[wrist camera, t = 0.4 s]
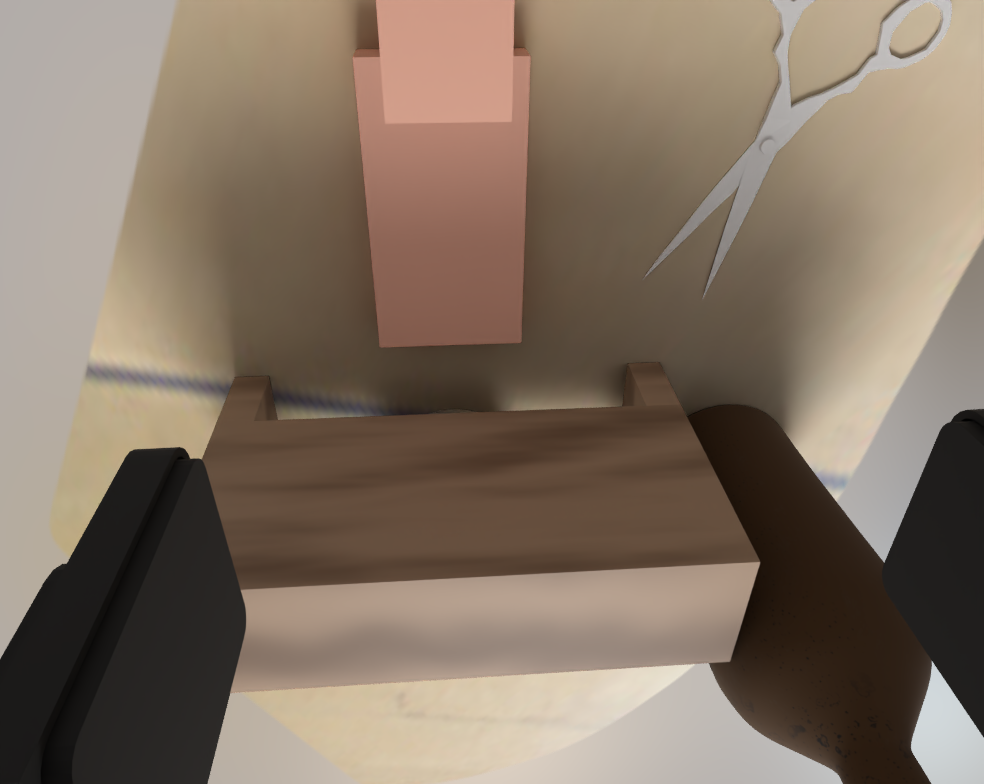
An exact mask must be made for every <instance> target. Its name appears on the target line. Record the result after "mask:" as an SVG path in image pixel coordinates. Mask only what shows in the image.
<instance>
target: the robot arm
mask: <svg viewBox="0 0 984 784" xmlns="http://www.w3.org/2000/svg"><path fill="white" fill-rule="evenodd" d="M882 580H883V585H884V588H885V591H886V593H887V594H888V596H889V598H890V599H891V601H892V602H893V604H894V605H895V607H896V608H897V610H898V611H899V613H900V614H901V616H902V617H903V618H904V620H905V621H906V623H907V624H908V626H909V627H910V629H911V630H912V632H913V633H914V635H915V636H916V638H917V639H918V641H919V642H920V644H921V645H922V647H923V648H924V650H925V651H926V653H927V654H928V656H929V657H930V659H931V660H932V661H933V663H934V664H935V666H936V667H937V669H938V670H939V672H940V673H941V675H942V676H943V678H944V679H945V680H946V682H947V684H948V685H949V687H950V688H951V689H952V691H953V693H954V694H955V696H956V697H957V698H958V700H959V701H960V703H961V704H962V706H963V707H964V709H965V710H966V712H967V713H968V715H969V716H970V718H971V719H972V721H973V722H974V724H975V725H976V727H977V728H978V730H979V731H980V732H981V734H982V735H983V737H984V409H977V410H965V411H962V412H959V413H958V414H957V415H955V416H954V418H953V419H952V421H951V422H950V423H947V424H945V425H944V426H943V427H942V429H941V430H940V432H939V435H938V437H937V439H936V442H935V444H934V446H933V449H932V451H931V454H930V456H929V458H928V461H927V463H926V465H925V468H924V470H923V472H922V475H921V477H920V480H919V482H918V484H917V487H916V489H915V491H914V494H913V496H912V499H911V501H910V503H909V506H908V508H907V510H906V513H905V515H904V518H903V520H902V522H901V525H900V527H899V529H898V532H897V534H896V537H895V539H894V541H893V544H892V546H891V548H890V551H889V553H888V556H887V558H886V560H885V563H884V565H883V569H882ZM245 631H246V608H245V603H244V600H243V596H242V593H241V589H240V586H239V582H238V579H237V575H236V572H235V568H234V565H233V561H232V558H231V554H230V551H229V547H228V544H227V540H226V537H225V533H224V530H223V526H222V523H221V519H220V516H219V512H218V509H217V505H216V502H215V498H214V495H213V491H212V488H211V484H210V481H209V477H208V474H207V470H206V467H205V464H204V462H203V461H202V460H201V459H199V458H198V459H190V457H189V455H188V453H187V452H186V450H185V449H184V448H181V447H177V448H156V449H135V450H133V451H130V452H129V454H128V455H127V456H126V457H125V459H124V461H123V463H122V465H121V466H120V468H119V470H118V472H117V474H116V476H115V477H114V479H113V481H112V483H111V485H110V486H109V488H108V490H107V492H106V494H105V495H104V497H103V499H102V501H101V503H100V505H99V506H98V508H97V510H96V512H95V514H94V515H93V517H92V519H91V521H90V523H89V524H88V526H87V528H86V530H85V532H84V534H83V535H82V537H81V539H80V541H79V543H78V544H77V546H76V548H75V550H74V552H73V553H72V555H71V557H70V559H69V561H68V563H67V564H62V565H60V566H59V567H57V568H56V569H54V570H53V571H52V572H51V574H50V575H49V576H48V578H47V579H46V580H45V582H44V583H43V585H42V587H41V589H40V590H39V592H38V594H37V596H36V598H35V599H34V601H33V603H32V604H31V607H30V608H29V610H28V611H27V613H26V615H25V617H24V619H23V620H22V622H21V624H20V626H19V627H18V629H17V631H16V633H15V634H14V636H13V638H12V640H11V641H10V643H9V645H8V647H7V649H6V650H5V652H4V654H3V655H2V657H1V659H0V784H207V783H208V779H209V775H210V771H211V767H212V763H213V759H214V755H215V751H216V747H217V743H218V739H219V735H220V731H221V727H222V724H223V719H224V715H225V711H226V708H227V704H228V700H229V696H230V692H231V688H232V684H233V680H234V676H235V672H236V668H237V664H238V660H239V656H240V652H241V648H242V644H243V640H244V636H245Z"/></svg>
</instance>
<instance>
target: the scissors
mask: <svg viewBox="0 0 984 784" xmlns="http://www.w3.org/2000/svg"><path fill="white" fill-rule="evenodd" d="M814 1H815V0H793V1H791V0H770V2H771V4H772V5H773V6H774V7H775V9H776V10H777V11H778V12H779V19H780V26H781V35H780V37H779V39H778V41H777V43H776V45H775V47H774V49H773V51H772V52H773V54H774V56H775V59H776V61H777V63H778V71H779V83H778V85H777V87H776V90H775V92H774V94H773V96H772V99H771V101H770V104H769V106H768V109H767V111H766V114H765V116H764V118H763V121H762V123H761V126H760V128H759V131H758V133H757V136H756V138H755V141H754V142H753V143H752V144H751V145H750V147H749V148H748V149H747V150H746V151H745V152H744V154H743V155H742V156H741V157H740V158H739V159H738V161H737V162H736V163H735V164H734V165H733V166H732V167H731V169H730V170H729V171H728V172H727V173H726V174H725V176H724V177H723V178H722V179H721V180H720V181H719V182H718V184H717V185H716V186H715V187H714V188H713V190H712V191H711V192H710V193H709V194H708V196H707V197H706V198H705V199H704V201H703V202H702V203H701V204H700V205H699V207H698V208H697V209H696V211H695V212H694V213H693V214H692V216H691V217H690V218H689V219H688V221H687V222H686V223H685V225H684V226H683V227H682V228H681V230H680V231H679V232H678V233H677V235H676V236H675V237H674V238H673V240H672V241H671V242H670V243H669V245H668V246H667V247H666V248H665V249H664V251H663V252H662V253H661V254H660V256H659V257H658V258H657V260H656V261H655V262H654V264H653V265H652V267H651V268H650V269H649V271H648V272H647V274H646V275H645V277H646V276H647V275H648V274H649V273H650V272H651V271H652V270H653V269H654V268H655V267H656V266H658V265H659V264H660V263H661V262H662V261H663V260H664V259H665V258H666V257H667V256H668V255H669V254H670V253H671V252H672V251H673V250H674V249H675V248H676V247H677V246H678V245H679V244H680V243H681V242H683V241H684V240H685V239H686V238H687V237H688V236H689V235H690V234H691V233H692V232H693V231H694V230H695V229H696V228H697V227H698V226H699V225H700V224H701V223H702V222H703V221H704V220H705V219H706V218H707V217H708V216H709V215H710V214H711V213H712V212H713V211H714V210H715V209H716V208H717V207H718V206H719V205H720V204H721V203H723V202H724V201H725V200H726V199H727V198H728V197H729V196H730V195H731V194H732V193H733V192H734V191H735V190H736V188H737V187H738V186H739V188H738V191H737V194H736V197H735V200H734V203H733V206H732V209H731V211H730V214H729V217H728V220H727V223H726V226H725V229H724V232H723V236H722V239H721V242H720V245H719V248H718V251H717V254H716V258H715V261H714V264H713V267H712V270H711V273H710V276H709V280H708V283H707V286H706V289H705V292H704V295H703V298H704V296H705V294H706V292H707V290H708V288H709V286H710V284H711V282H712V280H713V278H714V276H715V275H716V273H717V271H718V269H719V267H720V265H721V263H722V261H723V259H724V257H725V255H726V253H727V252H728V250H729V248H730V246H731V244H732V242H733V240H734V238H735V236H736V234H737V232H738V230H739V228H740V226H741V224H742V222H743V220H744V218H745V216H746V215H747V213H748V211H749V209H750V206H751V204H752V202H753V200H754V198H755V196H756V194H757V192H758V190H759V188H760V186H761V184H762V181H763V179H764V177H765V175H766V173H767V171H768V169H769V167H770V165H771V163H772V161H773V159H774V156H775V154H776V152H777V151H778V150H780V149H781V148H782V147H783V146H784V145H785V144H786V143H787V142H788V141H789V140H790V139H791V138H792V137H793V135H794V134H795V133H796V132H797V131H798V130H799V129H800V128H801V127H802V125H803V124H804V123H805V122H806V121H807V120H808V119H809V118H810V117H811V116H812V115H813V114H815V113H816V112H817V111H818V110H819V109H820V108H821V107H822V106H823V105H824V104H825V103H826V102H827V101H828V100H829V99H831V98H833V97H835V96H837V95H840V94H846V93H852V92H853V91H854V89H855V88H856V87H857V86H858V85H859V83H860V82H861V81H862V80H863V79H864V77H865V76H866V75H867V74H868V73H869V72H873V71H878V70H884V69H900V68H905V67H907V66H909V65H911V64H914V63H916V62H918V61H920V60H922V59H924V58H925V57H926V56H927V55H929V54H930V53H931V52H932V51H933V50H935V48H936V47H937V46H938V44H939V43H940V42H941V40H942V39H943V38H944V36H945V35H946V32H947V30H948V28H949V26H950V22H951V15H952V5H951V1H950V0H907V1H905V2H904V3H902V4H901V5H899V6H898V7H896V8H895V9H894V10H893V11H892V12H891V13H890V14H889V15H888V16H887V17H886V18H885V19H884V20H883V21H882V22H881V26H880V31H879V36H878V42H877V47H876V52H875V55H873V56H871V57H870V58H868V59H867V61H866V62H865V63H864V64H863V66H862V67H861V68H860V70H859V71H858V72H857V73H856V74H855V75H854V76H852V77H850V78H849V79H847V80H845V81H844V82H842V83H840V84H838V85H836V86H834V87H832V88H830V89H828V90H826V91H824V92H822V93H819V94H816V95H813V96H810V97H807V98H805V99H803V100H801V101H799V102H797V103H795V104H793V105H791V97H790V80H789V69H788V48H789V42H790V36H791V33H792V31H793V29H794V27H795V25H796V24H797V22H798V20H799V18H800V16H801V14H802V12H803V10H804V9H805V8H806V7H807V6H809V5H810V4H811V3H812V2H814ZM927 2H930V3H932V4H933V5H935V6H936V7H937V8H938V9H939V10H940V13H941V21H940V25H939V28H938V31H937V32H936V34H935V35H934V37H933V38H932V39H931V41H930V42H929V43H928V45H927V46H926V47H925V48H924V49H923V50H921V51H919V52H917V53H915V54H912V55H910V56H908V57H905V58H900V59H899V58H897V57H895V56H893V55H891V52H890V50H889V45H890V41H891V37H892V33H893V31H894V30H895V29H896V28H897V26H898V25H899V24H900V23H901V22H902V20H903V19H904V18H905V17H906V16H907V15H908V14H909V12H910V11H912V10H914V9H915V8H917V7H919V6H921V5H922V4H924V3H927ZM645 277H644V278H645ZM644 278H643V279H644ZM643 279H642V280H643ZM703 298H702V300H703Z"/></svg>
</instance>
